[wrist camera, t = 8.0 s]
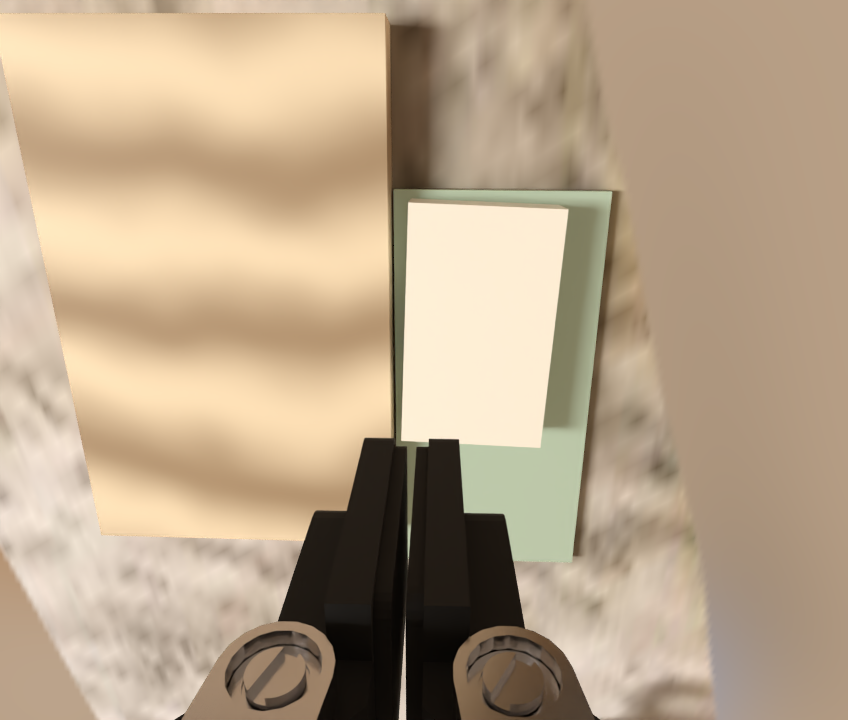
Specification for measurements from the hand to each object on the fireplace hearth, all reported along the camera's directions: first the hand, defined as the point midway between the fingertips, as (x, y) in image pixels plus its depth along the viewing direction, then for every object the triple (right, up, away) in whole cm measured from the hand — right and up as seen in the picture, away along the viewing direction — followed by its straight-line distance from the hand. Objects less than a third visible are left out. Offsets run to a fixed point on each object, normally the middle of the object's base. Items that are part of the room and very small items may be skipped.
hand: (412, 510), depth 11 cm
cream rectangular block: (+2, +4, +15) cm, 16 cm away
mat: (+3, +1, +17) cm, 17 cm away
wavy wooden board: (-8, +5, +16) cm, 18 cm away
